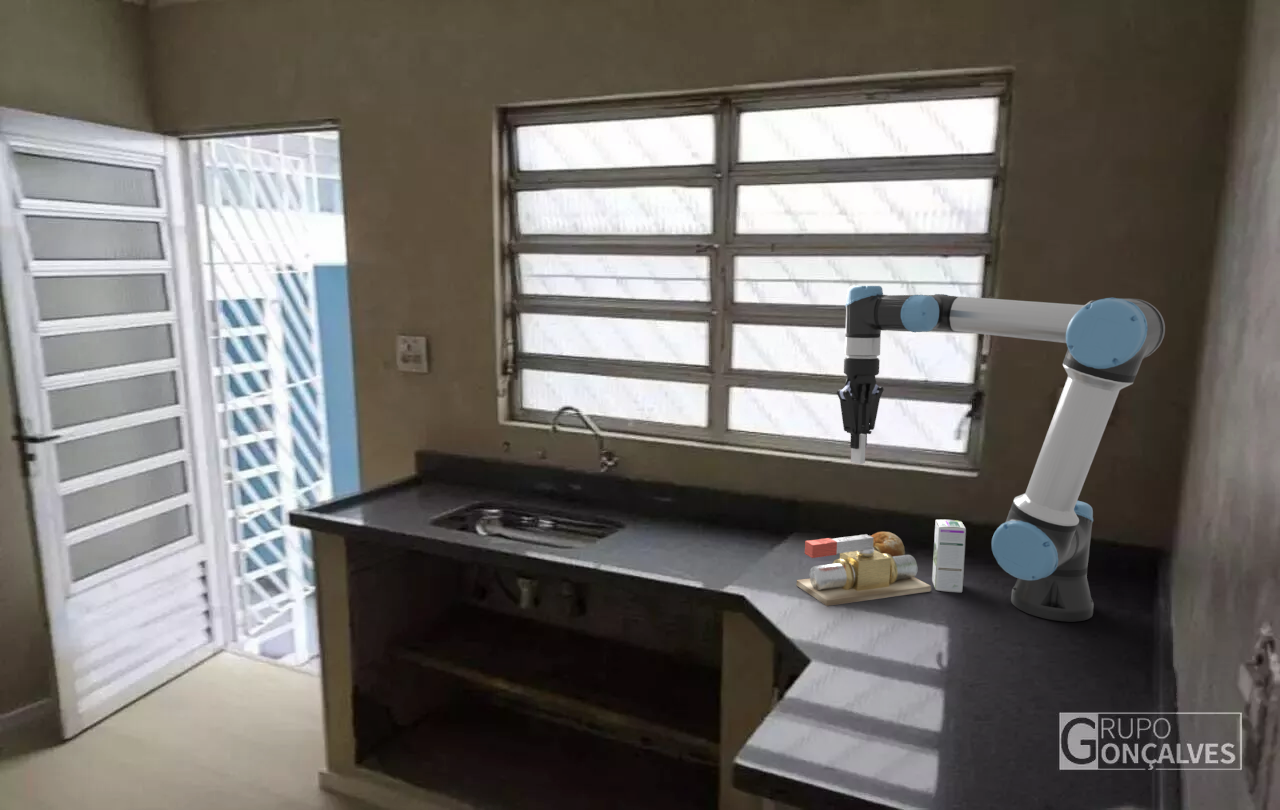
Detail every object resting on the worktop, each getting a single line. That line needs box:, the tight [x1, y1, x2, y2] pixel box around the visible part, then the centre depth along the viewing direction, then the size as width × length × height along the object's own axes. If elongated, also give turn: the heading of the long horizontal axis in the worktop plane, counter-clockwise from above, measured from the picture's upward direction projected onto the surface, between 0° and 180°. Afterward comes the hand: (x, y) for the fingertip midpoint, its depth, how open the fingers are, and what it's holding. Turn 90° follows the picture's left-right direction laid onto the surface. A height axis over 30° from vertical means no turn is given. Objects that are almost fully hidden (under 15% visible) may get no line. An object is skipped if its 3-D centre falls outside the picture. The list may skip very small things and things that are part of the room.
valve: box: [809, 550, 918, 591], centre depth 178 cm, size 24×7×7 cm, turn 110°
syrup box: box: [931, 519, 967, 593], centre depth 179 cm, size 6×6×14 cm
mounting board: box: [795, 576, 932, 607], centre depth 179 cm, size 12×26×1 cm, turn 110°
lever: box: [804, 533, 874, 559], centre depth 175 cm, size 16×4×4 cm, turn 112°
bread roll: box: [870, 531, 906, 557], centre depth 199 cm, size 10×10×8 cm
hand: (857, 462), depth 183 cm, fingers closed
